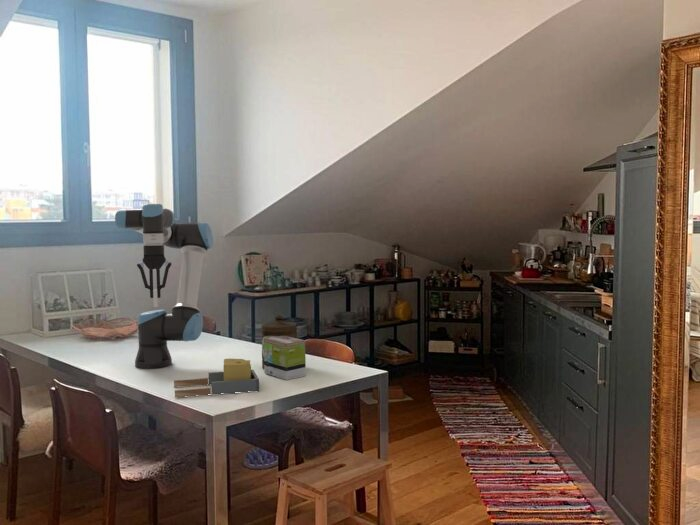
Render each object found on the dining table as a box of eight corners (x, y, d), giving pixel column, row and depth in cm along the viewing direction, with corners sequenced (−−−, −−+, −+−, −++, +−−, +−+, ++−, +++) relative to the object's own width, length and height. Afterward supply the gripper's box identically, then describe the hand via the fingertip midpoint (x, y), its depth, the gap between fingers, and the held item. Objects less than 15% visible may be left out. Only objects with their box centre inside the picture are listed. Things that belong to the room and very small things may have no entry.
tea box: (263, 374, 283) (262, 337, 282) (283, 370, 290) (282, 334, 289) (286, 380, 272) (285, 342, 271) (306, 376, 279) (306, 339, 278)
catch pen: (208, 384, 268) (208, 372, 267) (253, 381, 272) (253, 369, 272) (211, 395, 252) (211, 382, 252) (259, 391, 257) (258, 379, 256)
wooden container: (257, 370, 288) (256, 317, 287) (268, 362, 303) (267, 312, 301) (292, 372, 286) (291, 318, 284) (301, 363, 300) (301, 312, 299)
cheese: (252, 383, 269) (251, 357, 268) (251, 390, 258) (250, 363, 257) (224, 384, 268) (223, 358, 267) (222, 391, 257) (221, 364, 256)
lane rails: (174, 386, 264) (173, 380, 264) (208, 384, 268) (207, 377, 267) (174, 397, 249) (174, 391, 249) (210, 395, 252) (210, 388, 252)
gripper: (135, 245, 262) (137, 308, 264) (171, 244, 265) (173, 307, 267) (136, 244, 269) (138, 306, 271) (171, 243, 273) (173, 304, 275)
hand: (155, 306), depth 269 cm, fingers closed
